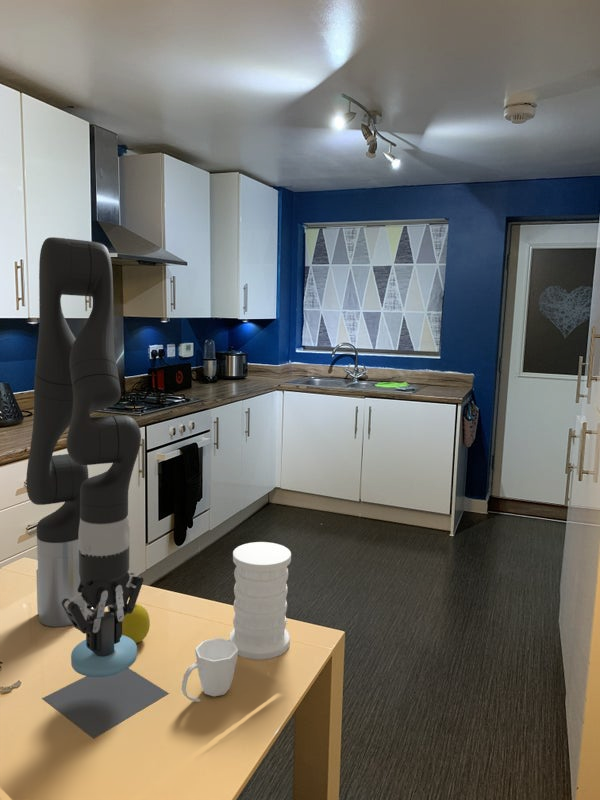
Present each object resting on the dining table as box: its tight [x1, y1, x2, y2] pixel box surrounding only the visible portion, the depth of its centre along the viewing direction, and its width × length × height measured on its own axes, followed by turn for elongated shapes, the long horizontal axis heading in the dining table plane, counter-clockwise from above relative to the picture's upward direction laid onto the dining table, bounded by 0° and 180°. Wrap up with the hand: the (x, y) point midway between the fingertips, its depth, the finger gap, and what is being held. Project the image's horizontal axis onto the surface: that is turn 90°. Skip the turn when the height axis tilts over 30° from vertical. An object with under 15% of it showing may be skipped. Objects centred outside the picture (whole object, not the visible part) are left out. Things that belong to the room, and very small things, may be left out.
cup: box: [181, 637, 238, 703], centre depth 100 cm, size 7×10×8 cm
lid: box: [70, 610, 138, 677], centre depth 98 cm, size 10×10×7 cm
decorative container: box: [228, 541, 292, 661], centre depth 116 cm, size 12×12×18 cm
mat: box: [41, 667, 170, 739], centre depth 99 cm, size 14×14×1 cm
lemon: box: [122, 603, 151, 644], centre depth 115 cm, size 6×6×8 cm
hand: (104, 645), depth 98 cm, fingers closed on lid, 3 cm apart
